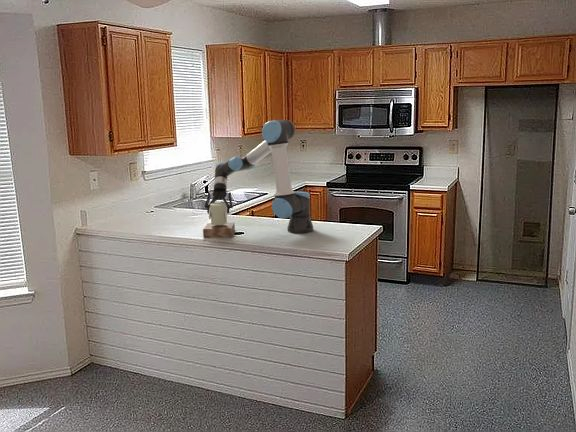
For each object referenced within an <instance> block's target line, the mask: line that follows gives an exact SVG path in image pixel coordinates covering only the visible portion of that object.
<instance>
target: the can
mask: <svg viewBox="0 0 576 432" xmlns="http://www.w3.org/2000/svg"><path fill="white" fill-rule="evenodd" d="M209 204H210V203H209ZM210 210H211V219H210V223H211V224H212V225H224V224H227V223H228V221H227V220H228V218H227V219H226V218H225V211H226V203H224V202H215V203H211V204H210Z"/></svg>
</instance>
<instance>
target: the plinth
mask: <svg viewBox="0 0 576 432" xmlns="http://www.w3.org/2000/svg"><path fill="white" fill-rule="evenodd" d="M235 227H236V226H235V222H227V224H224V225H212V224H211V222H208V223H206V225H205V226H204V227H203V228H202V234H203V235H202V236H203V239H210V238H212V239H213V238H215V239H216V238H219V239H220V238H232V237H233V235H234V234H233V233H235V231H236V228H235Z"/></svg>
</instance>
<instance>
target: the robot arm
mask: <svg viewBox="0 0 576 432" xmlns="http://www.w3.org/2000/svg"><path fill="white" fill-rule="evenodd" d="M296 132H297V131H296V126H295V124H294V123H293V122H292V121H291V120H289V119H273V120H269V121H267V122H265V124H263V126H262V130H261V136H262V139H263V140H264V141H262V142H261V143H260V144H258V145H257V146H256V147H255V148H254V149H252V150H251V151H249V152H248V153H247V154H246V155H245V156H243V157H238V156H233V157H232V158H230V159H229V160H227V161H226V162H219V163H217V164H216V165H215V169H214V181H213V191H212V193H210V192H208V193H207V198H206V199H205V200H206V201H205V203H204V209H205V210H207V211H206V213H207V215H208V219H209V220H211V210H210V204H211V203H216V202H217V201H223V203H226V211H225V218H226V219H227V220H228V214H230V209H233V207H234V205H233V200H232V192H227V186H228V185H227V184H228V177H229V176H231V175H232V174H234V173H237V172H241V171H249V170H251V169H254V168H255V166H256V164H258V162H260V161H261V160H262V159H264V158H265V157H266V156H267V155H270V154H271V159H272V166H273V173H274V182H275V187H276V188H275V190H276V192H275V193H274V199H273V201H272V204H271V209H272V212H273V213H274V215H275V216H276V217H277V218H280V219H288V218H289V220H288V224H287V232H289V233H292V234H306V233H312V232H313V231H314V224H313V222H312V219H311V197H310V193H309V192H307V191H295V190H293V189H292V188H293V187H292V181H291V173H290V166H289V159H288V151H287V147H288V145H289V142H290V141H291V140H292V139H293V138H294V137H295V135H296ZM226 197H227V198H228V201H229V203H228V201H227V199H226ZM211 198H212V199H211Z"/></svg>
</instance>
